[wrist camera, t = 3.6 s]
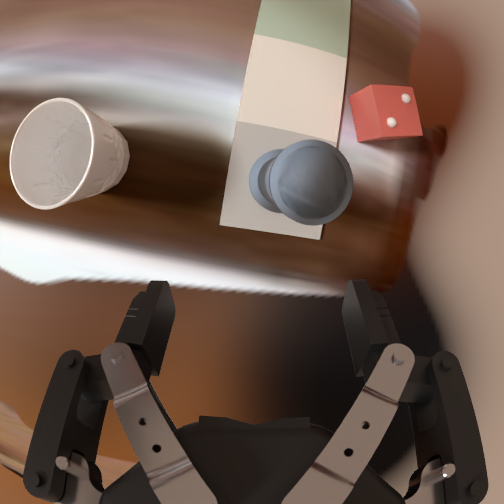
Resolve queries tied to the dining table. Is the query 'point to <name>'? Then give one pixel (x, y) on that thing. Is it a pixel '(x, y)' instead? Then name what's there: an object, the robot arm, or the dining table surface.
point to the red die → (385, 113)
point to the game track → (287, 99)
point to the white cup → (65, 155)
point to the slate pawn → (303, 182)
